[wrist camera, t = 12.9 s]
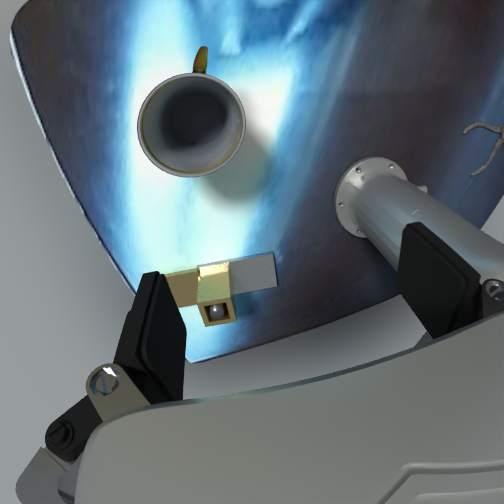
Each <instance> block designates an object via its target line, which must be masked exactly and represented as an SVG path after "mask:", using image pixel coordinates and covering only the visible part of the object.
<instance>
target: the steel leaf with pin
mask: <svg viewBox="0 0 504 504" xmlns="http://www.w3.org/2000/svg"><path fill="white" fill-rule="evenodd" d="M225 267H228V269H229V273H230V277H231V281H232V285H233V289H234V294H240V293H245V292H251V291H256V290H261V289H266V288H271V287H277V281H276V273H275V266H274V258H273V253H272V251H271V252H265V253H260V254H255V255H250V256H244V257H239V258H234V259H228V260H223V261H218V262H212V263H207V264H202V265H197V268H198V271H199V272H204V271H209V270H215V269H220V268H225ZM223 315H224V310H223V303H219V304H213V305H210V316H211V317H212V318H214V319H220V318H222V317H223Z"/></svg>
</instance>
